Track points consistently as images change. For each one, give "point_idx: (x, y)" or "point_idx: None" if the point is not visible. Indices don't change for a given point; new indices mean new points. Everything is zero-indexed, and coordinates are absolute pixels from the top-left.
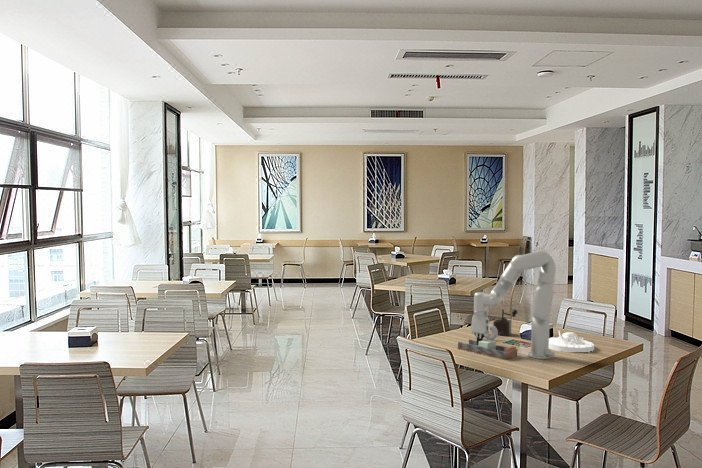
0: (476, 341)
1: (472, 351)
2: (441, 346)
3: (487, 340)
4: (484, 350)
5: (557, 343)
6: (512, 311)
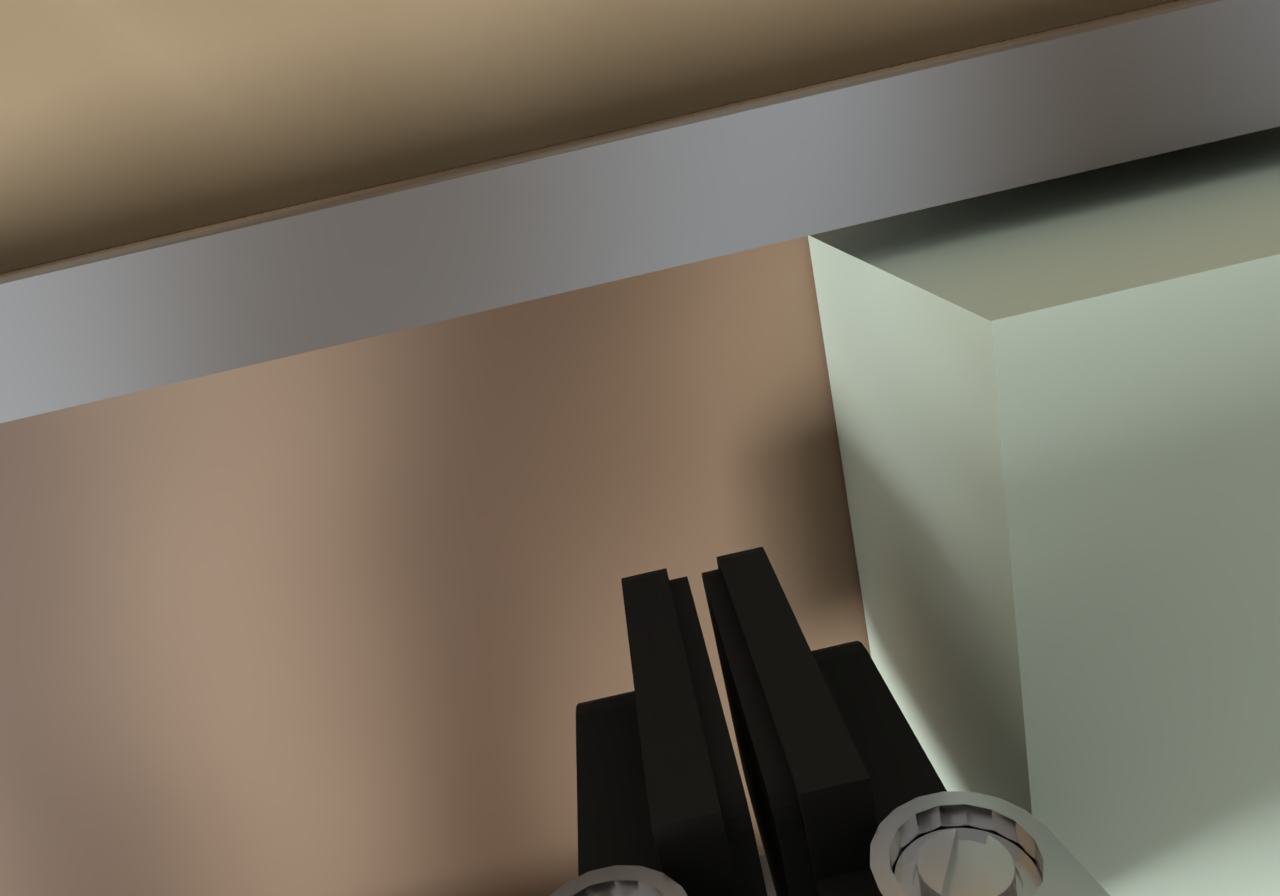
0: (64, 405)
1: None
2: None
3: (1243, 580)
4: None
5: None
6: None
